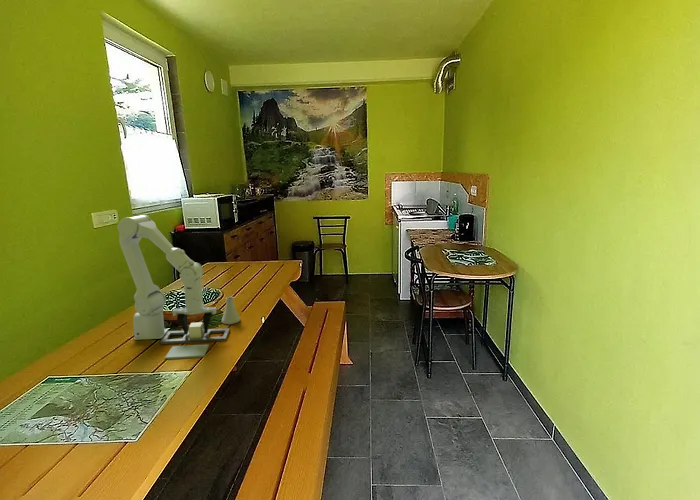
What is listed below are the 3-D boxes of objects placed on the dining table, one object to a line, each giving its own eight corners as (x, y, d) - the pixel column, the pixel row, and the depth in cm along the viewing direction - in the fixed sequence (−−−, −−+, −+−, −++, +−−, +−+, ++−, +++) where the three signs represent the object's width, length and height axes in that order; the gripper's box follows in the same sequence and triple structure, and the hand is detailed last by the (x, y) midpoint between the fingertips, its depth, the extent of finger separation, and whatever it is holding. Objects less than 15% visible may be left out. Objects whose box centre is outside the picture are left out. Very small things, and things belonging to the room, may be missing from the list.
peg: (189, 340, 135) (188, 327, 134) (192, 335, 138) (191, 322, 137) (201, 339, 135) (200, 326, 134) (203, 334, 139) (202, 322, 138)
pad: (165, 359, 120) (164, 357, 120) (172, 348, 128) (172, 346, 128) (204, 356, 122) (203, 355, 122) (209, 346, 130) (209, 344, 130)
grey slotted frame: (160, 344, 131) (160, 341, 131) (168, 333, 140) (168, 331, 139) (225, 340, 134) (225, 338, 134) (229, 330, 143) (229, 328, 143)
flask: (217, 322, 150) (216, 299, 148) (231, 316, 157) (229, 294, 155) (231, 326, 147) (229, 302, 145) (244, 320, 153) (242, 296, 151)
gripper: (168, 301, 129) (171, 338, 131) (212, 300, 131) (214, 336, 134) (174, 295, 136) (177, 330, 138) (216, 293, 138) (218, 328, 141)
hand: (196, 332), depth 136 cm, fingers open, 6 cm apart
